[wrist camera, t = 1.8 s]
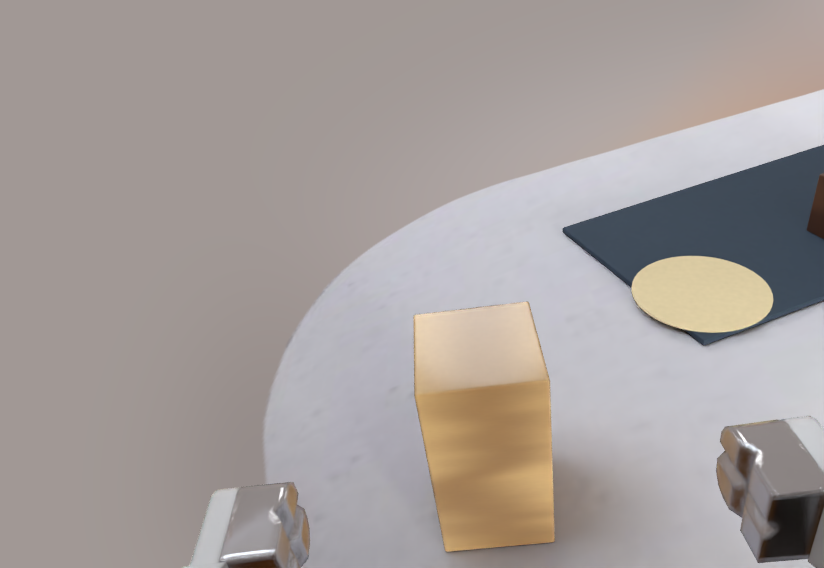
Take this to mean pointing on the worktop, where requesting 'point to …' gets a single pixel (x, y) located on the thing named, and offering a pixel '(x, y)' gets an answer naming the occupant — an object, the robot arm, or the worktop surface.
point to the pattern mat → (719, 248)
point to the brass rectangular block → (486, 425)
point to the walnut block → (817, 210)
